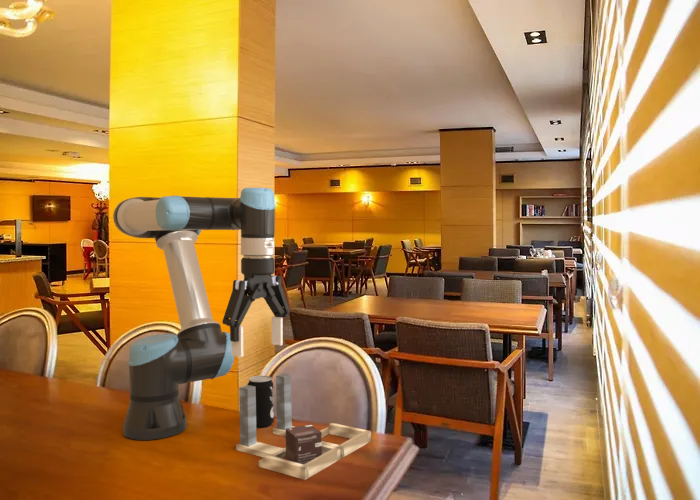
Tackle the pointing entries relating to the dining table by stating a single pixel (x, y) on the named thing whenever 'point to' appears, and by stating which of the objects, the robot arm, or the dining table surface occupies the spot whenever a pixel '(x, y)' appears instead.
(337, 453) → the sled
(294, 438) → the box
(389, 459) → the dining table surface
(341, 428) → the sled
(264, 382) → the beverage can
